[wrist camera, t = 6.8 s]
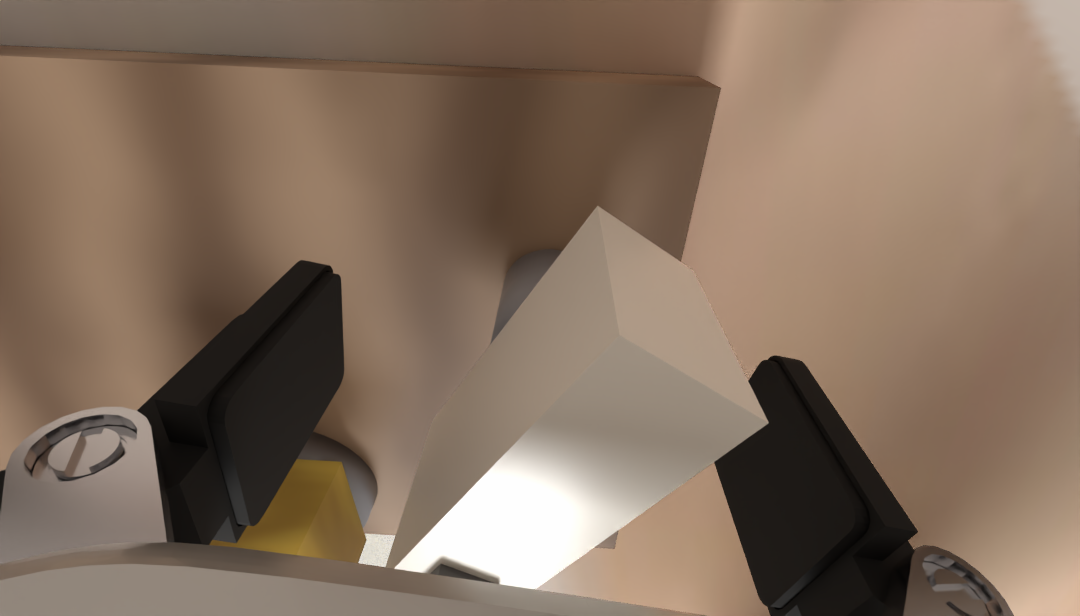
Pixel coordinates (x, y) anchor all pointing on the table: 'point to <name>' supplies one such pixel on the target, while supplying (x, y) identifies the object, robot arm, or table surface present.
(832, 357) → the table surface
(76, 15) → the table surface
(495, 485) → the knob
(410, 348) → the level base
